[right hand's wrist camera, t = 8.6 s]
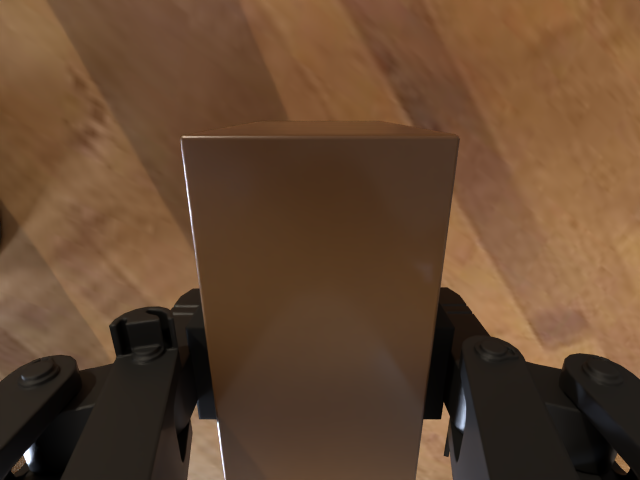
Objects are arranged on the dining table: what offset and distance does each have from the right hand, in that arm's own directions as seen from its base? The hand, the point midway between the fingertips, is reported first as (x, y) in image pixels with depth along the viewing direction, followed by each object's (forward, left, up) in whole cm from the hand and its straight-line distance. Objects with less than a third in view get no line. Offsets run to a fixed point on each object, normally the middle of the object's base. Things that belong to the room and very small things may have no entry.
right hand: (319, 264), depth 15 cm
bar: (-8, -24, -1) cm, 25 cm away
